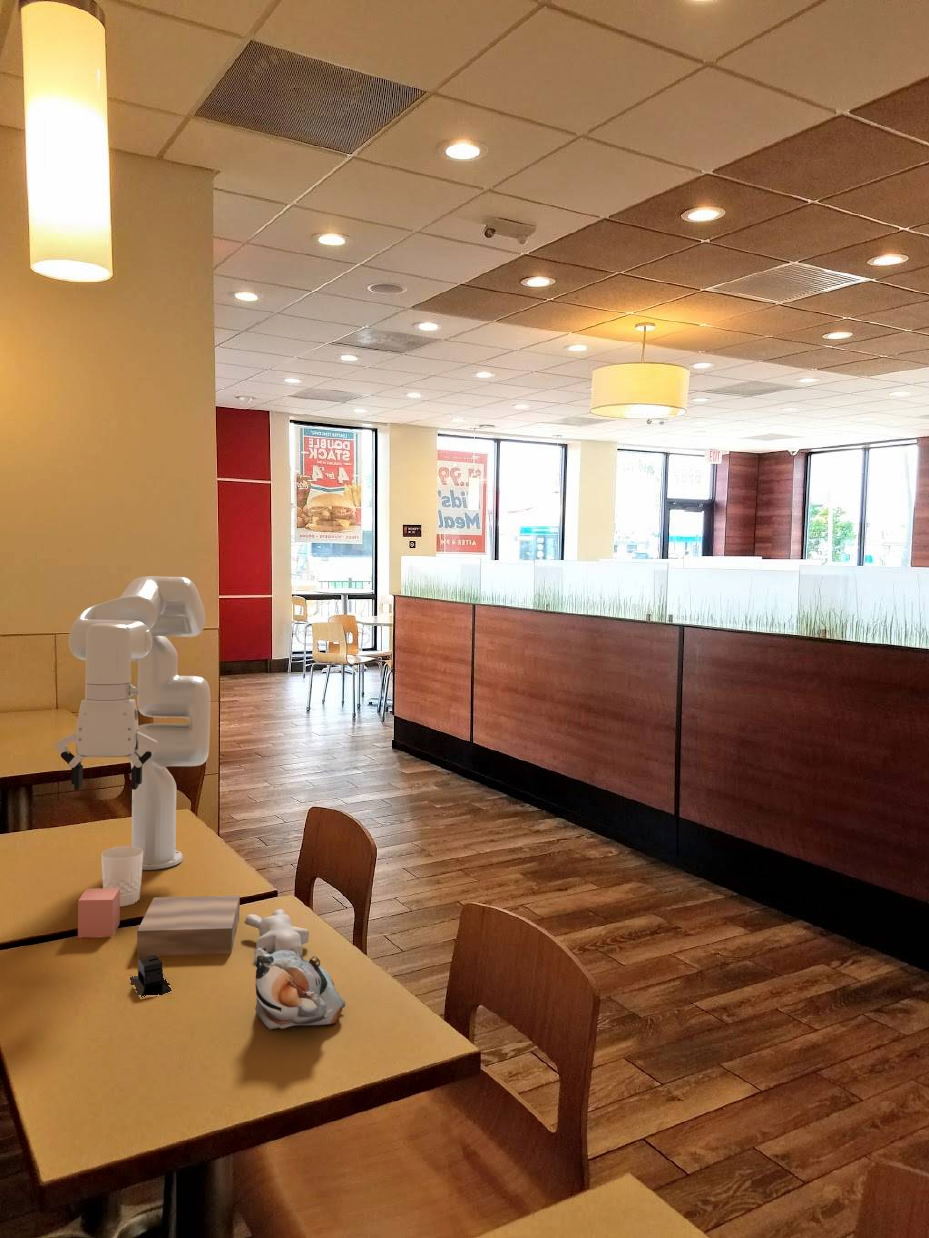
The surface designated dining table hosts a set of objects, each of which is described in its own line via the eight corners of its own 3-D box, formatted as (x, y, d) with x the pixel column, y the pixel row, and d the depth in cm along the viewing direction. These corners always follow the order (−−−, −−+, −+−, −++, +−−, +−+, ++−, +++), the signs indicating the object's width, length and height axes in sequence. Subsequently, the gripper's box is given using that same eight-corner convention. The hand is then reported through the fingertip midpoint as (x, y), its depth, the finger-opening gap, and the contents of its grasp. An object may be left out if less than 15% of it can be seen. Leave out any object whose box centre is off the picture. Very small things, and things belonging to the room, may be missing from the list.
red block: (86, 925, 174) (86, 888, 173) (119, 924, 175) (119, 887, 174) (77, 938, 168) (78, 900, 167) (112, 936, 169) (112, 899, 168)
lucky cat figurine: (361, 1016, 142) (352, 957, 135) (298, 1070, 135) (285, 1012, 128) (302, 960, 151) (290, 902, 144) (240, 1008, 144) (224, 950, 137)
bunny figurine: (266, 945, 158) (239, 906, 170) (264, 973, 159) (238, 931, 171) (318, 935, 163) (288, 897, 175) (316, 962, 163) (287, 922, 176)
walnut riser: (153, 923, 177) (153, 897, 176) (239, 920, 179) (239, 895, 179) (137, 958, 161) (137, 930, 161) (231, 955, 163) (231, 928, 163)
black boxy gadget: (182, 998, 147) (183, 970, 147) (135, 1009, 143) (136, 980, 143) (161, 968, 158) (162, 942, 158) (117, 977, 154) (117, 950, 154)
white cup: (149, 895, 190) (149, 847, 189) (131, 909, 182) (132, 859, 181) (112, 892, 190) (113, 845, 190) (93, 906, 183) (93, 857, 182)
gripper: (162, 690, 169) (160, 783, 170) (62, 689, 166) (61, 784, 167) (155, 696, 162) (153, 792, 162) (50, 695, 159) (49, 793, 160)
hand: (106, 788), depth 165 cm, fingers open, 9 cm apart
